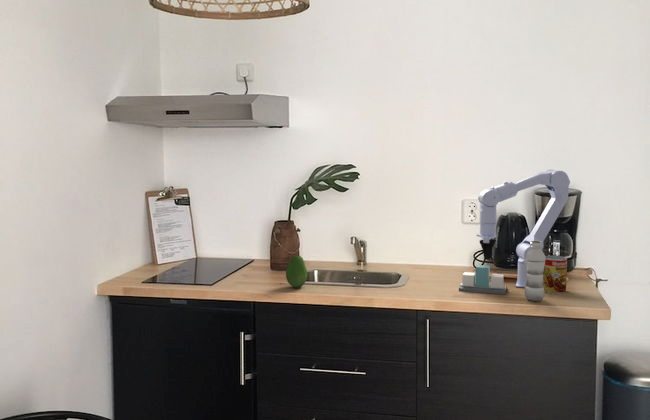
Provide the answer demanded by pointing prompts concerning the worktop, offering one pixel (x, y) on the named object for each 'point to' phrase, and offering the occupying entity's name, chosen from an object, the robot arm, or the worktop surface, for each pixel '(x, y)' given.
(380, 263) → the worktop surface
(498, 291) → the rail board
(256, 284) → the worktop surface
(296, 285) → the avocado
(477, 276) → the block
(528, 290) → the plastic bottle
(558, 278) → the canned food
